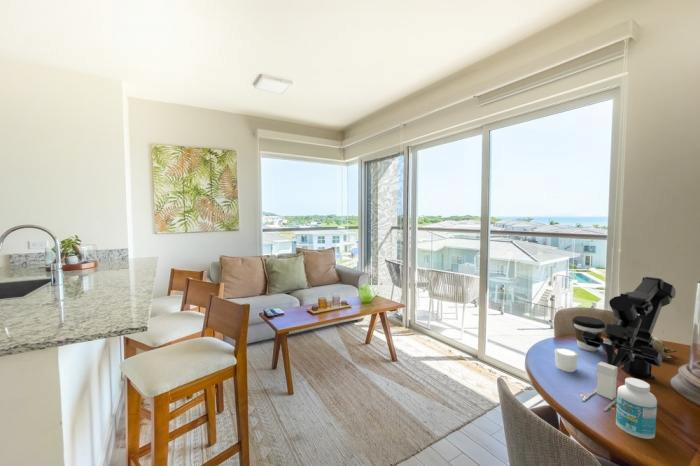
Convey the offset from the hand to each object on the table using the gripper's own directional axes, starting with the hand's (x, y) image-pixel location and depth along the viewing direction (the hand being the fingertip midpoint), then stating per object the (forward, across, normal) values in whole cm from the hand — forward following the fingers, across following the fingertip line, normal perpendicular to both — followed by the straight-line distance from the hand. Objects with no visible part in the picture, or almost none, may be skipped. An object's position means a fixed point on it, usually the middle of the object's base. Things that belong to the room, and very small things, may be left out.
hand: (610, 370), depth 93 cm
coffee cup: (-18, -18, +30) cm, 39 cm away
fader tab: (+7, 0, +3) cm, 8 cm away
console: (+9, 0, +3) cm, 9 cm away
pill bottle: (+16, +10, -4) cm, 19 cm away
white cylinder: (+2, -15, +10) cm, 18 cm away
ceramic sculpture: (-28, -3, +40) cm, 49 cm away
